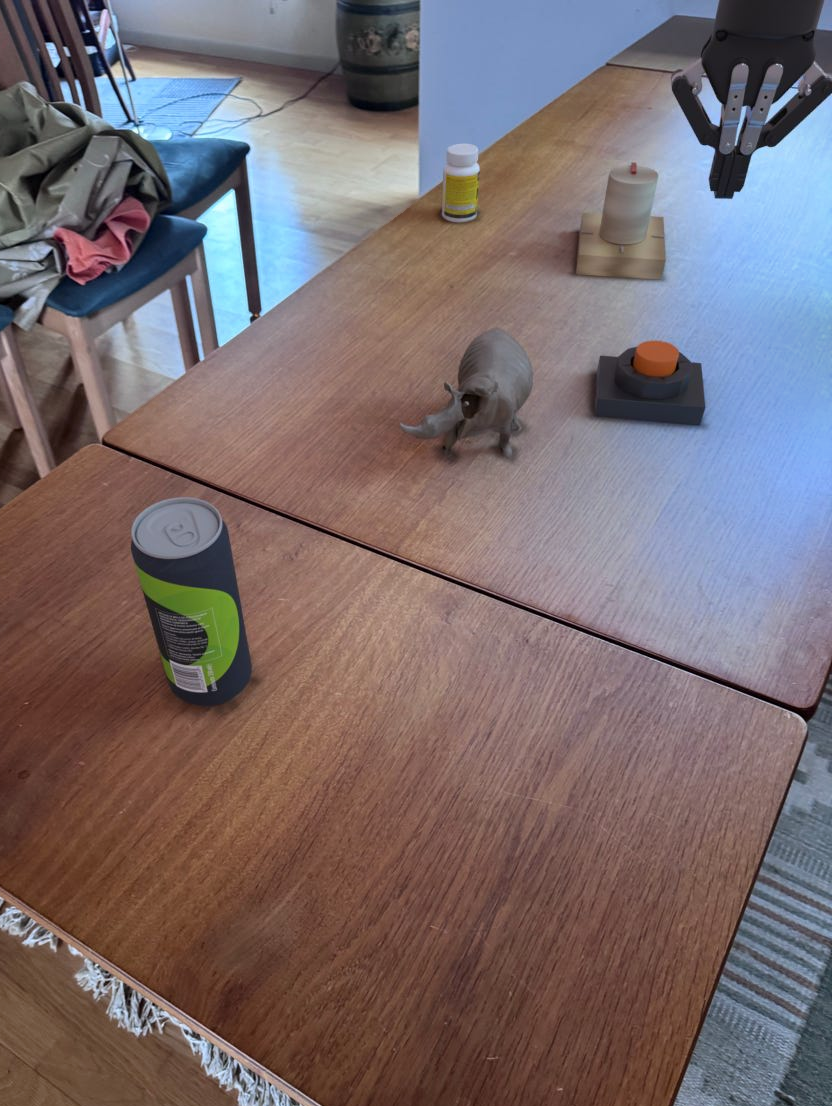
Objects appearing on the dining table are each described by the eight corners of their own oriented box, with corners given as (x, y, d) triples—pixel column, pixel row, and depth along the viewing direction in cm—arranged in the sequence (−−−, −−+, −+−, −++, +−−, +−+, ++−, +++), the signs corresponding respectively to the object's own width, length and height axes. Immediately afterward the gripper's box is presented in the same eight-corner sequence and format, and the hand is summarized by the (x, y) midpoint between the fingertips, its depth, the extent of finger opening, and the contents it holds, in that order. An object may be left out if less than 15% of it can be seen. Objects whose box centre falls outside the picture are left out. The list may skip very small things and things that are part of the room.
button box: (696, 382, 93) (706, 346, 90) (699, 426, 87) (710, 390, 85) (596, 374, 94) (602, 338, 91) (594, 417, 89) (601, 381, 86)
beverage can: (268, 685, 67) (244, 531, 56) (195, 726, 65) (154, 573, 54) (226, 636, 71) (196, 482, 60) (155, 673, 68) (109, 519, 57)
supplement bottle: (482, 220, 121) (487, 152, 114) (448, 225, 120) (451, 158, 114) (468, 206, 124) (472, 139, 118) (436, 211, 123) (438, 145, 117)
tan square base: (659, 236, 116) (663, 215, 114) (661, 280, 108) (666, 258, 106) (579, 232, 117) (582, 211, 115) (575, 275, 109) (579, 253, 107)
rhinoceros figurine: (568, 376, 89) (535, 294, 76) (519, 504, 89) (476, 444, 75) (496, 362, 93) (452, 282, 80) (448, 486, 92) (395, 425, 79)
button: (674, 358, 89) (678, 341, 88) (675, 379, 87) (680, 363, 85) (632, 354, 90) (636, 338, 89) (632, 376, 87) (636, 360, 86)
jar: (646, 246, 108) (659, 181, 103) (598, 243, 109) (609, 179, 104) (645, 226, 112) (658, 163, 107) (599, 223, 113) (609, 161, 107)
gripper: (691, -34, 65) (645, 211, 78) (888, -36, 63) (808, 216, 76) (686, -58, 70) (644, 176, 83) (870, -61, 68) (797, 180, 81)
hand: (723, 195), depth 80 cm, fingers closed
